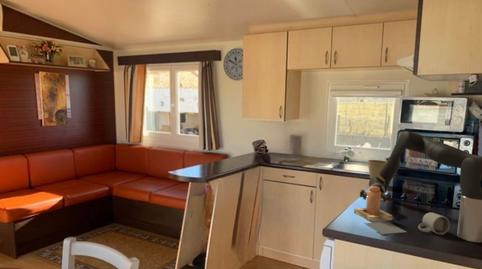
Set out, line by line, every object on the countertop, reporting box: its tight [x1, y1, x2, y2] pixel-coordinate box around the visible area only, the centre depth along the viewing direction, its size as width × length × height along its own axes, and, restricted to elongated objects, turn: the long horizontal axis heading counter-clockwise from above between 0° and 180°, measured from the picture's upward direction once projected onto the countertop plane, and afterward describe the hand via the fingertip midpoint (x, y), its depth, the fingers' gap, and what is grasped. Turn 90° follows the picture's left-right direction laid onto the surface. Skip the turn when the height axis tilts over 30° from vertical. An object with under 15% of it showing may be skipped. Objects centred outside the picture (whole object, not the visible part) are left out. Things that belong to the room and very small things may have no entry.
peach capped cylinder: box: [365, 186, 382, 215], centre depth 157 cm, size 7×6×14 cm
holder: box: [353, 207, 393, 223], centre depth 158 cm, size 12×12×2 cm
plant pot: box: [367, 159, 388, 181], centre depth 220 cm, size 15×15×16 cm
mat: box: [363, 221, 407, 236], centre depth 144 cm, size 12×12×1 cm
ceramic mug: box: [417, 212, 451, 236], centre depth 143 cm, size 11×8×8 cm
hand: (374, 198), depth 161 cm, fingers open, 8 cm apart
